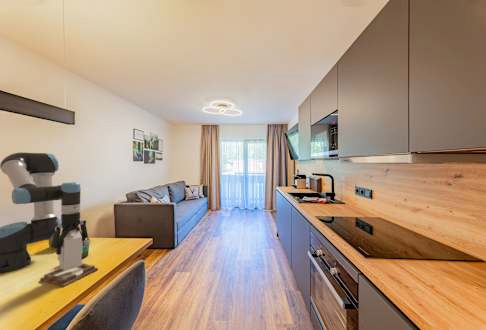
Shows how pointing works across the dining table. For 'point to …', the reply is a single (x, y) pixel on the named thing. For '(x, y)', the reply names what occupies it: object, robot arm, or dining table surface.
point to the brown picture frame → (68, 275)
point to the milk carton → (72, 250)
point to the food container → (86, 248)
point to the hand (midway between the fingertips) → (70, 256)
